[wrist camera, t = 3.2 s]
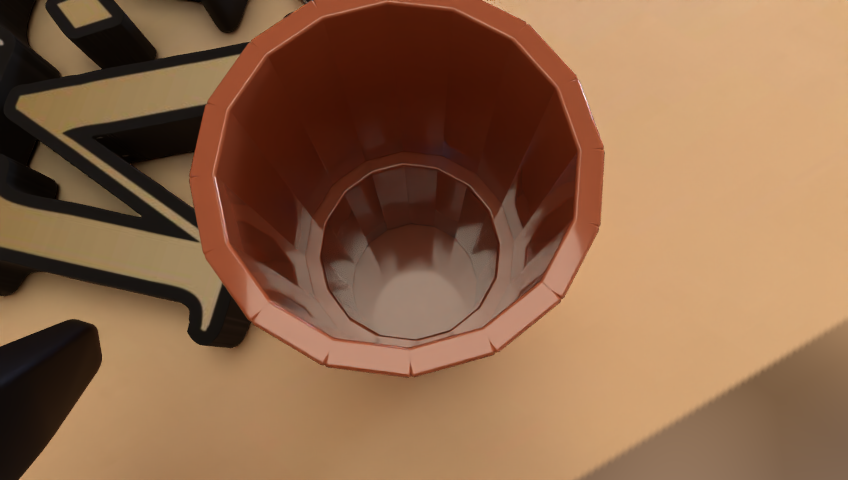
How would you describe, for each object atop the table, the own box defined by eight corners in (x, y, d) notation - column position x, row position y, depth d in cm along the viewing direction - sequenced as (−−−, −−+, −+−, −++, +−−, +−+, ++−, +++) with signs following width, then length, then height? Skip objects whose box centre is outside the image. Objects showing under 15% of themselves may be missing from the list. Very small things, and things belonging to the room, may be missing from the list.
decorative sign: (-137, -181, 22) (348, -92, 21) (-81, -127, 25) (356, -44, 24) (-354, 217, 19) (217, 349, 18) (-264, 235, 21) (242, 351, 20)
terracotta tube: (446, 400, 20) (480, 460, 7) (304, 317, 21) (107, 237, 8) (523, 256, 21) (671, 92, 8) (386, 182, 22) (330, -76, 9)
